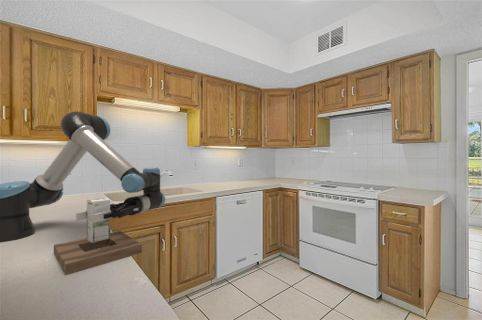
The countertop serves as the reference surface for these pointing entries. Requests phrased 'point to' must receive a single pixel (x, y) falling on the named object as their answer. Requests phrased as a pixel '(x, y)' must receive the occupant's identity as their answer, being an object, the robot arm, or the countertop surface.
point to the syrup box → (98, 229)
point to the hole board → (94, 252)
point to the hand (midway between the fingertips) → (85, 217)
